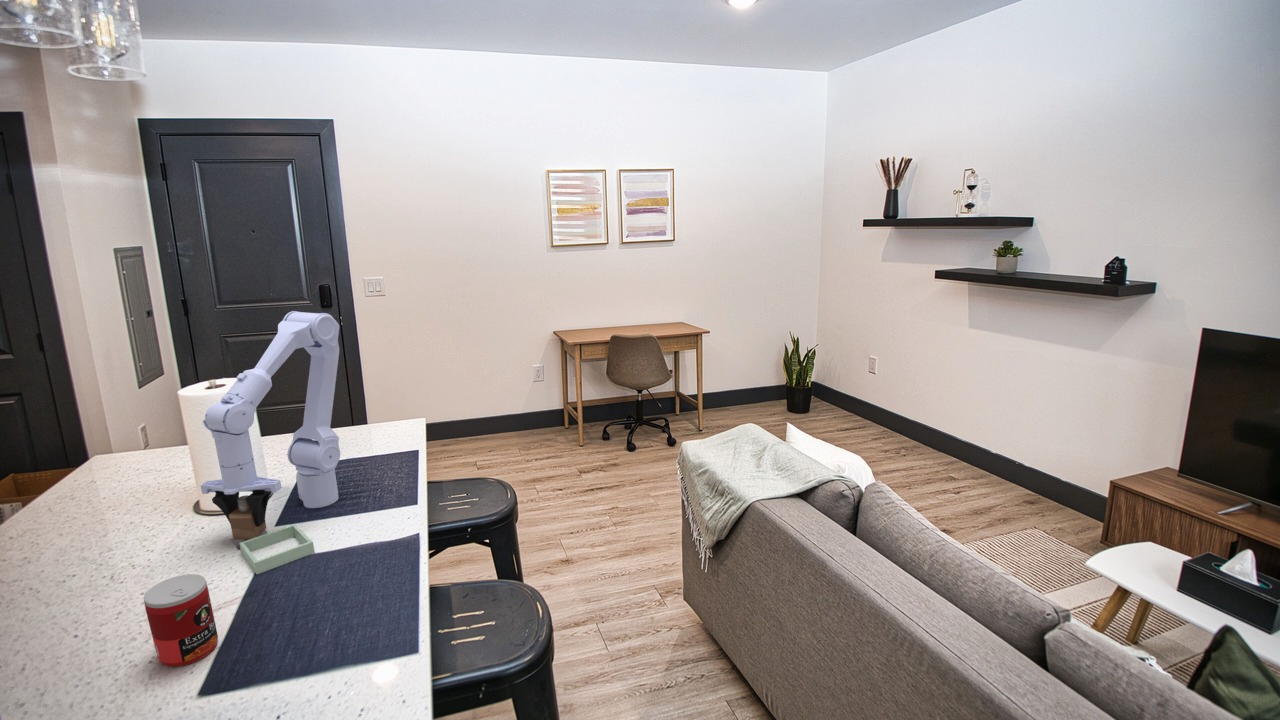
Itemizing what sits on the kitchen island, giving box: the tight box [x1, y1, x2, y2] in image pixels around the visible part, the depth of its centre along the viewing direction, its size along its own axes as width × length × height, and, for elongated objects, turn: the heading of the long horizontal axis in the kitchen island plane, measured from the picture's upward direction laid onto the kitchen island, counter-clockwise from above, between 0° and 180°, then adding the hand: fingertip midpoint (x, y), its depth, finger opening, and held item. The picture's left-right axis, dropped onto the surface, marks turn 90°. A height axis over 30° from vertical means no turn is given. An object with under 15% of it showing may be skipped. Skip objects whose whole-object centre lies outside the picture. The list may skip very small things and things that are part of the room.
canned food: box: [143, 573, 219, 668], centre depth 96 cm, size 8×8×11 cm
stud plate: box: [229, 530, 268, 551], centre depth 126 cm, size 6×6×5 cm
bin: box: [239, 523, 315, 575], centre depth 121 cm, size 10×10×4 cm
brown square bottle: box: [229, 494, 267, 540], centre depth 126 cm, size 4×4×8 cm
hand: (248, 524), depth 126 cm, fingers closed on brown square bottle, 4 cm apart
